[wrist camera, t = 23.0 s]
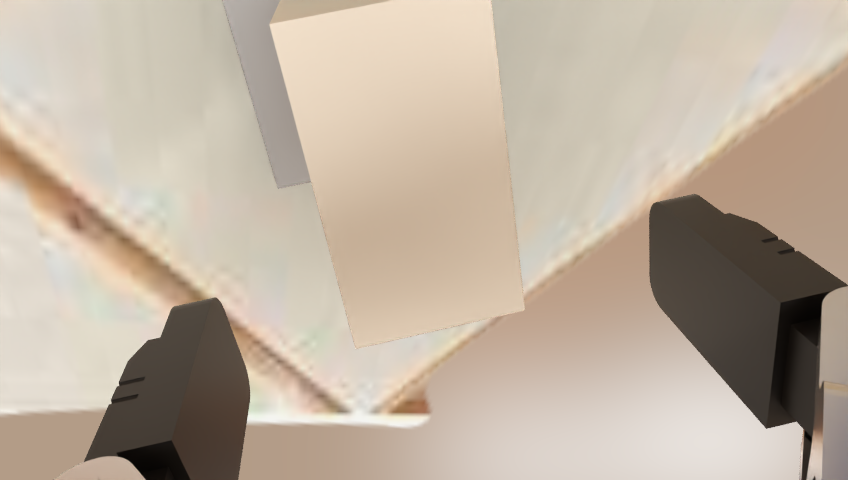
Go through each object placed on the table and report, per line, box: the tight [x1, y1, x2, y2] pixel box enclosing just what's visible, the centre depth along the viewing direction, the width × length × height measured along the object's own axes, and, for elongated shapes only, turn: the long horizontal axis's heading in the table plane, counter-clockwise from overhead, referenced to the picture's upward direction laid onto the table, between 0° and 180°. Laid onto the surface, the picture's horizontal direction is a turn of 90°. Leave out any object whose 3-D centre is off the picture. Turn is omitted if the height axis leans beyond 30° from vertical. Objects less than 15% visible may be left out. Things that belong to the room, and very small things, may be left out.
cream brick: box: [269, 0, 525, 349], centre depth 19 cm, size 5×9×6 cm, turn 9°
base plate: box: [222, 0, 311, 189], centre depth 33 cm, size 12×12×1 cm
